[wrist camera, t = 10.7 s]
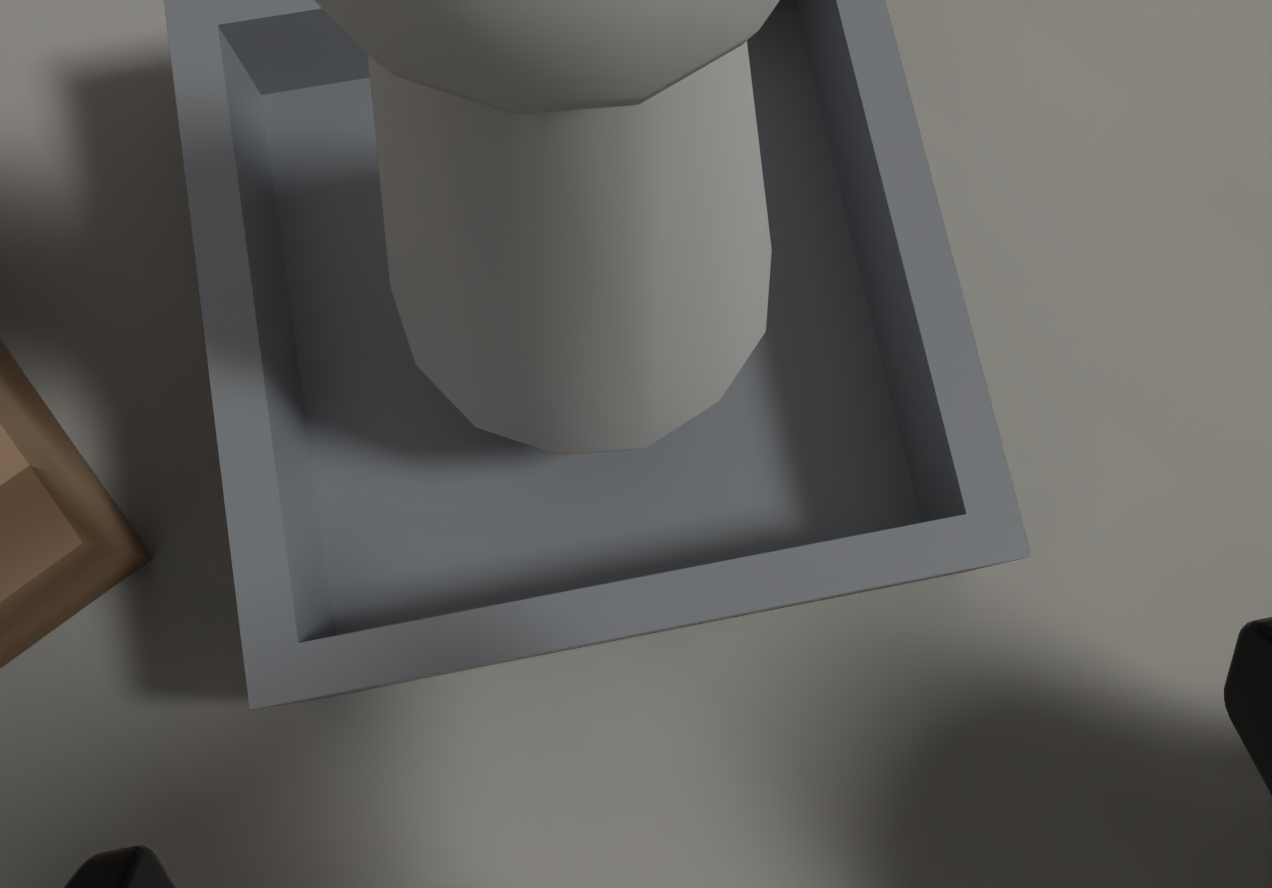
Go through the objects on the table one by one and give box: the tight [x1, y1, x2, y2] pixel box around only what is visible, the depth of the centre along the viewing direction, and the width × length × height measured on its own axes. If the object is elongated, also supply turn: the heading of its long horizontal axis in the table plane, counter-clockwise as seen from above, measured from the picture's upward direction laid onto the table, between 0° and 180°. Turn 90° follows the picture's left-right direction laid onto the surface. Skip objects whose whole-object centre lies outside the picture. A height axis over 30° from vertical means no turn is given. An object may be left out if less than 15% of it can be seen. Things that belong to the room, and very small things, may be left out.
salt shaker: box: [314, 0, 780, 455], centre depth 12 cm, size 6×6×13 cm
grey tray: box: [164, 0, 1032, 710], centre depth 18 cm, size 12×12×3 cm
